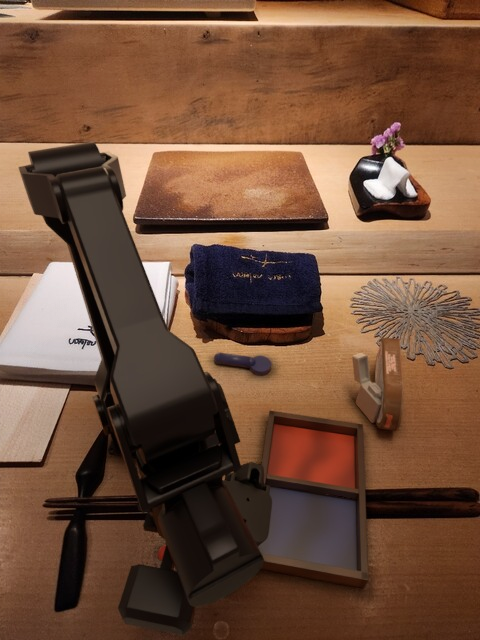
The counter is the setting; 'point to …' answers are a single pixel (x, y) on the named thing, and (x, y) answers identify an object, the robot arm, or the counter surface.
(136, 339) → the robot arm
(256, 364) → the indigo spoon
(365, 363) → the lighter
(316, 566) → the sorting tray
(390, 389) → the tin
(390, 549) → the counter surface
